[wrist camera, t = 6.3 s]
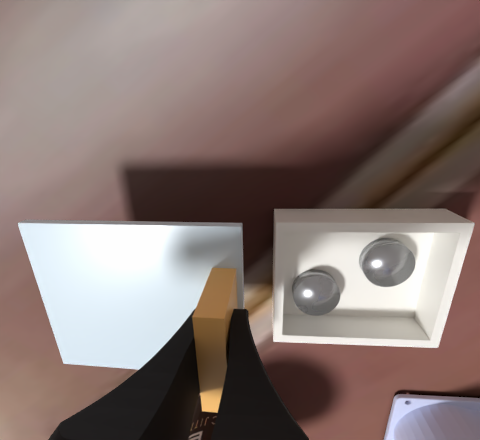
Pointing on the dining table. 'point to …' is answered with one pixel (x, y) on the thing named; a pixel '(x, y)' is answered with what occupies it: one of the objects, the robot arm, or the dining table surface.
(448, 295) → the tub
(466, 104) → the dining table surface
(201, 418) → the coffee mug
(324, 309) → the grey shiny rounded part
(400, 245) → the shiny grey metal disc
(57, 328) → the lid
